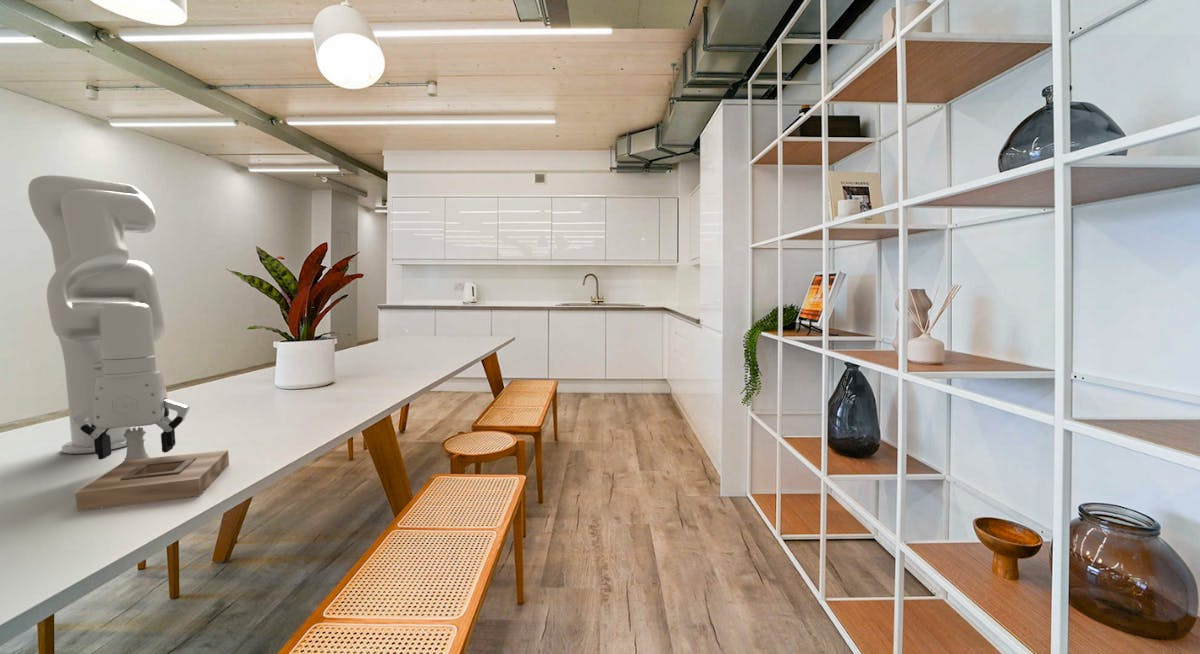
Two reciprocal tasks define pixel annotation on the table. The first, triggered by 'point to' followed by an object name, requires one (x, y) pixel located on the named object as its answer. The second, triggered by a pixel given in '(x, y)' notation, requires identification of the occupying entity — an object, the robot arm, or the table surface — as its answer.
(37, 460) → the table surface
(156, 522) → the table surface
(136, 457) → the rook chess piece
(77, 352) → the robot arm
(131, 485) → the walnut board
